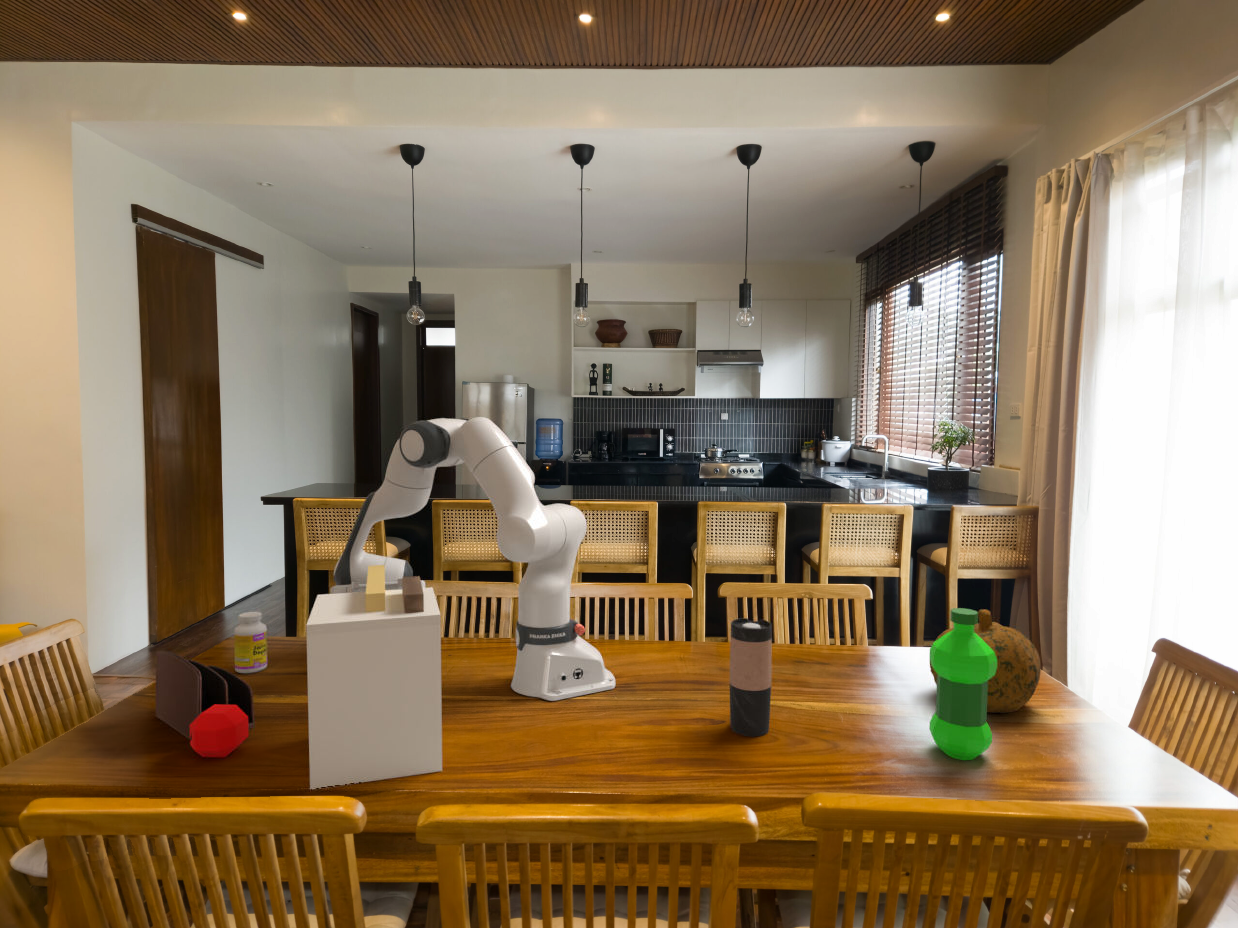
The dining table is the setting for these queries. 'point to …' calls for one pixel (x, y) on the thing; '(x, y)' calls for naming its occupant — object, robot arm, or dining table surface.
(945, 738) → the plastic bottle
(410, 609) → the walnut bar
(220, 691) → the letter holder
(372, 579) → the ochre bar
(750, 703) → the travel mug
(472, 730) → the dining table surface
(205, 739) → the ball
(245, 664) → the supplement bottle
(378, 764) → the off-white stand
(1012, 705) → the decorative pumpkin
